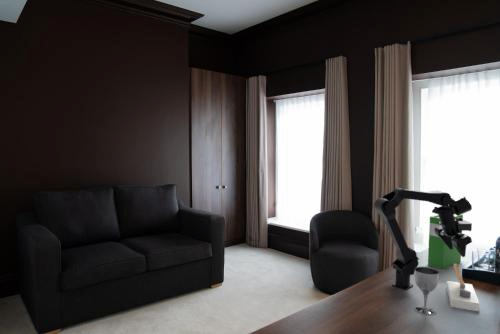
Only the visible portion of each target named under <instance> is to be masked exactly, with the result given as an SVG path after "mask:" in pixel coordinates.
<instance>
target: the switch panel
mask: <svg viewBox="0 0 500 334" xmlns="http://www.w3.org/2000/svg"><path fill="white" fill-rule="evenodd" d="M464 284H465V288H464V289H463V288H461V286H460V283H459V282H457V281H449V280H446V291H447V295H448V300H449V305H450V308H457V309H463V310H468V311H475V312H480V300H479V299H478V296H477V293H476V291H475V288H474V286H473V283H472V284H471V283H465V282H464ZM460 290H466V291H469V292H471V297H469V298H466V297H462V296H460Z"/></svg>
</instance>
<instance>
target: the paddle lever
mask: <svg viewBox="0 0 500 334" xmlns="http://www.w3.org/2000/svg"><path fill="white" fill-rule="evenodd" d="M453 267H454V270H455V274H456V276H457V279H458V281H459V283H460V286H461V288H463V289H464V288H465V284H464V283H465V281H464V280H463V278H462V275H461V272H460V269H459V266H458V263H456V264H454V265H453Z"/></svg>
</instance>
